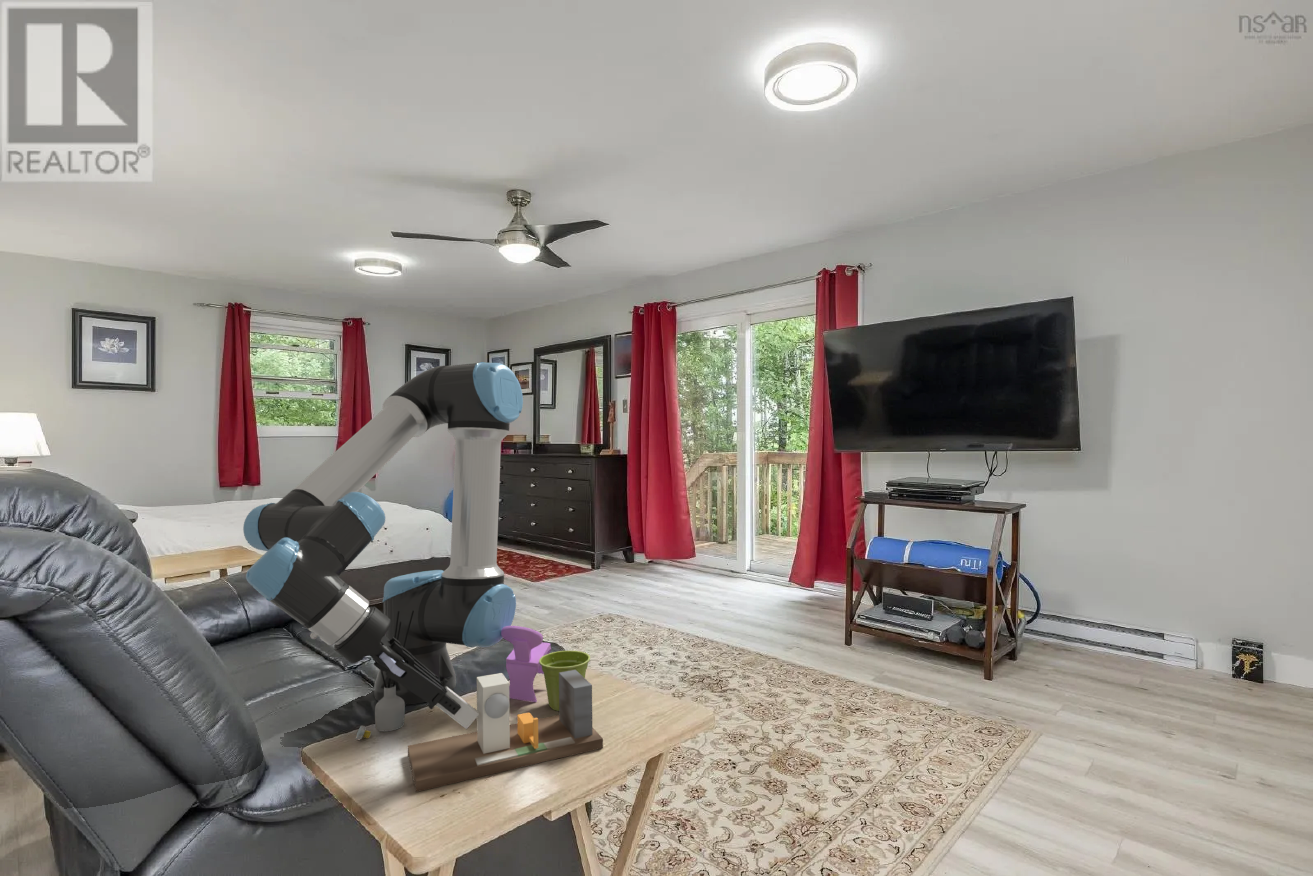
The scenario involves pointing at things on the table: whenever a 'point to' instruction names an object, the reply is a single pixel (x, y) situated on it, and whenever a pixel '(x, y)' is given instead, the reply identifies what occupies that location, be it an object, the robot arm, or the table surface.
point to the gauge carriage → (493, 713)
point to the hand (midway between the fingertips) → (471, 719)
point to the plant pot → (561, 670)
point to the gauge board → (511, 742)
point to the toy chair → (524, 660)
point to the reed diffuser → (388, 703)
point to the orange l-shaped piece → (528, 728)
